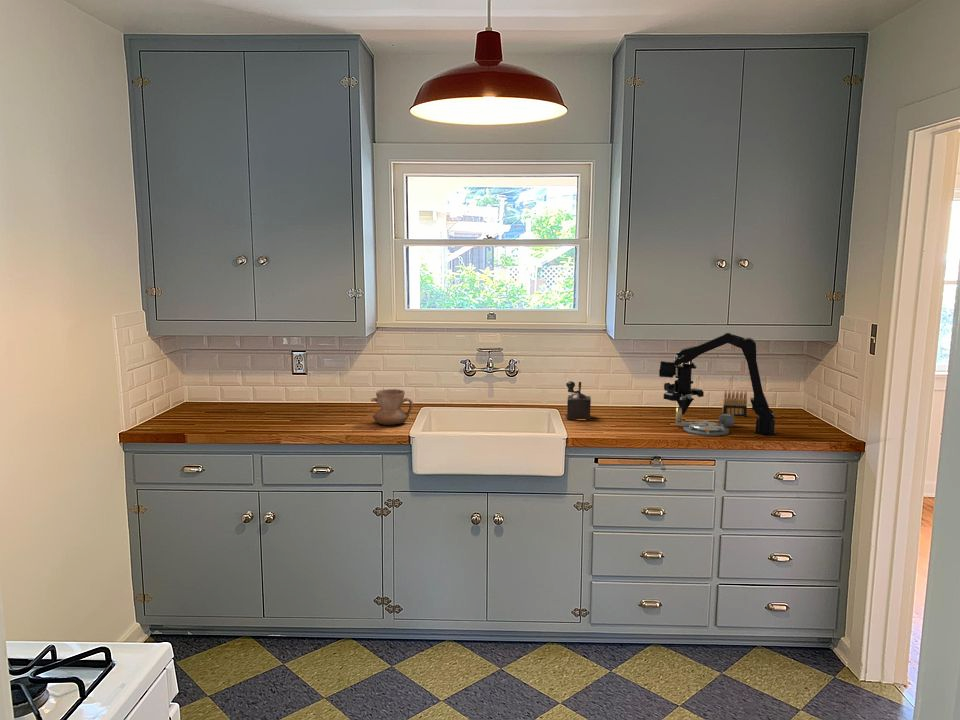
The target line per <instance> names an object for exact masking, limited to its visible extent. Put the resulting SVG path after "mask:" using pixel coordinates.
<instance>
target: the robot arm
mask: <svg viewBox="0 0 960 720" xmlns="http://www.w3.org/2000/svg"><path fill="white" fill-rule="evenodd" d="M727 344H730V345H732V346H735V347H737V348H739V349H741V351H742V353H743V356H744V358H745V360H746V362H747V367H748V368H747V369H748V372H749V373H748V374H749V376H750V383H751V388H752V392H753V397H750V403H751V405H752V406H751V410H752V411H754V413H755V415H757V417H756V421H755V430H754V431H753V433H754V432H755V433H754V434H758V433H760V434H759V435H762V434H764V436H766V435H768V436H772V434H773V435H776V434H777V432H776V431H775V426H776V419H775V413H774V411H773V410H772V409H771V408H770V406H769V402H768V400H767V397H766V396H765V393H764V390H763V385H762V381H761V380H762V379H761V376H760V372H759V368H758V367H759V366H758V362H757V342H756V340H755V339H754V338H752V337H746V338H745V337H743V336H739V335H736V334H732V333H731V332H726V333H724V334H722V335H720V336H717V337H715V338H712V339H710V340H707V341H706V342H703V343H700V344H698V345H693V346H689V347H685V348H682V349H681V350H680V351H679V352H678V354H677V358H676V359H674V360H673V361H664V360H661V361H660V367H659V371H658V373H659V374H658V375H659V378H672V379H673V378H674V376H677V379H675V380H674V383H671V382H666V383H663V389H664V391H665V392H664V393H663V400H667V401H673V402H676V403H677V404H678V406H679V407H680V408H682V416H683V415H685V414H686V413H687V411H688V408H689V407H690V405H691V404H692V402H693V401H695V398H693V396H697V397H698V398H701V397H704V391H703V389H700V388H696V387H695V388H692V384H694V380H692V377H693V376H692V373H693V372H692V370H693V369H694V370H695V369H696V368H697V365H696V364H695V363H694V362H693V360H695V359H696V358H697V357H699V356H701V355H702V354H704V353H708V352H709V351H712V350H714V349H717V348H720V347H722V346H725V345H727ZM691 361H692V362H691ZM690 362H691V363H690ZM682 364H683V365H682Z"/></svg>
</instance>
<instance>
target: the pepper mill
mask: <svg viewBox="0 0 960 720" xmlns="http://www.w3.org/2000/svg"><path fill="white" fill-rule="evenodd" d="M565 386H566V387H567V392H568V393H571V394H570V395H567V406H566V408H567V409H566V414H565V418H566V417H567V418H566V420H568V419H586V420H591V407H592V406H591V405H592V404H591V402H592V400H591V399H592V398H591V396H590V395H586V394H584V393H581V392H582V391H581V390H582V381H578V385H577V387H578V389H577V390H574V388H575V387H576V383H575V382H574V381H571V380H570V381H568V382H566V384H565Z"/></svg>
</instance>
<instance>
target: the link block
mask: <svg viewBox="0 0 960 720" xmlns="http://www.w3.org/2000/svg"><path fill="white" fill-rule="evenodd" d="M718 416H719V417H718V424H724V426H723V427H725V428H729V426H731V427H734V426H735V417H734V415H733V414H729V413H728V414H722V413H721V414H719V415H718Z"/></svg>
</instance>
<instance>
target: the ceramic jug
mask: <svg viewBox="0 0 960 720" xmlns="http://www.w3.org/2000/svg"><path fill="white" fill-rule="evenodd" d="M405 392H406V391H405V390H403V389H399V388H398V389H397V388H388V389H386V388H385V389H381V390H377V391H376V392H375V396H376V397H372V398H370V402H375V403H377V404H379V406H380V409H379V410H377V411H376V412H375V413H373V414H372V418H373V420H374V421H375V423H377V424H380V425H382V424H383V426H397V425H400V424H403V423H405V422H406V421H407V420H408V418H409V417H410V413H411V412H412V410H413V407H414V402H413V400H412V398H409V397H405ZM404 397H405V398H404ZM405 402H408V403H409V408H408V410H407V412H406V411H405V410H403V409H402V408H401V407H402V405H403V404H404V403H405ZM396 424H397V425H396Z"/></svg>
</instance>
